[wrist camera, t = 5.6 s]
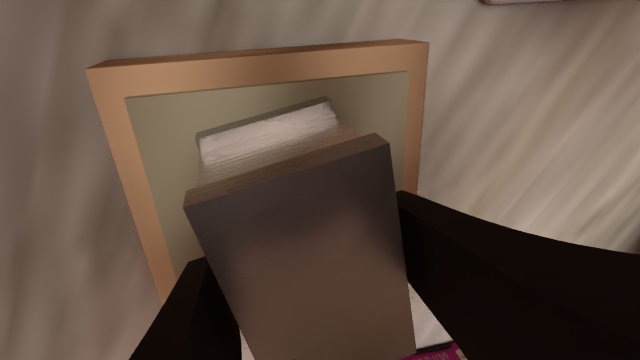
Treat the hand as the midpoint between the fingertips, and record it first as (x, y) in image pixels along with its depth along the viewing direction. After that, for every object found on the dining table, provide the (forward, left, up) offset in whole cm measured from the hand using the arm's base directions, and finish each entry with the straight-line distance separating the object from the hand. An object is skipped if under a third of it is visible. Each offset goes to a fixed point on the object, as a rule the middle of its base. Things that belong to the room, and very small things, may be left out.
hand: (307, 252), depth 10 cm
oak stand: (0, 0, -5) cm, 5 cm away
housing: (0, 0, -3) cm, 3 cm away
